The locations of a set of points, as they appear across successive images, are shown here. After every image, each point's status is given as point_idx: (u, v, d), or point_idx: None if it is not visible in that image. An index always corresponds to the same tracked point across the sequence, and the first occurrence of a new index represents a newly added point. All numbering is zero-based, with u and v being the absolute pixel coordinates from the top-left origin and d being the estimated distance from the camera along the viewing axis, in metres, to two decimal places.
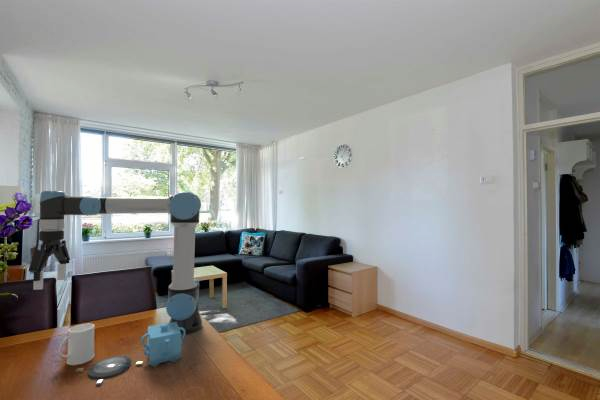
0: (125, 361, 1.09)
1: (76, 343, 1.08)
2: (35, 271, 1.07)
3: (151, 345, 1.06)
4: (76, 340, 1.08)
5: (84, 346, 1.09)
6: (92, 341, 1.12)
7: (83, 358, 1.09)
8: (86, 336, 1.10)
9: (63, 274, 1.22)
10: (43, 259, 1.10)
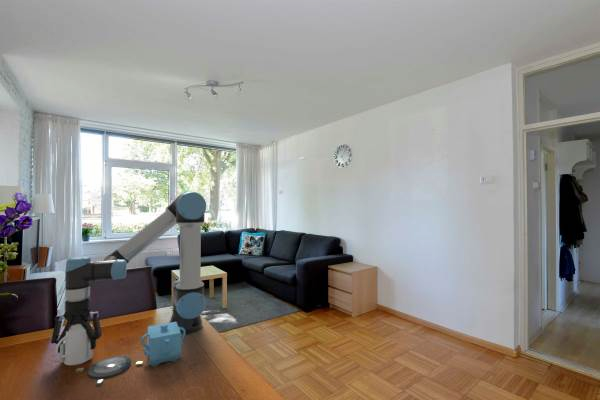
0: (125, 361, 1.09)
1: (73, 343, 1.08)
2: None
3: (151, 345, 1.06)
4: (73, 340, 1.08)
5: (81, 346, 1.09)
6: None
7: (80, 358, 1.09)
8: (83, 336, 1.10)
9: None
10: None
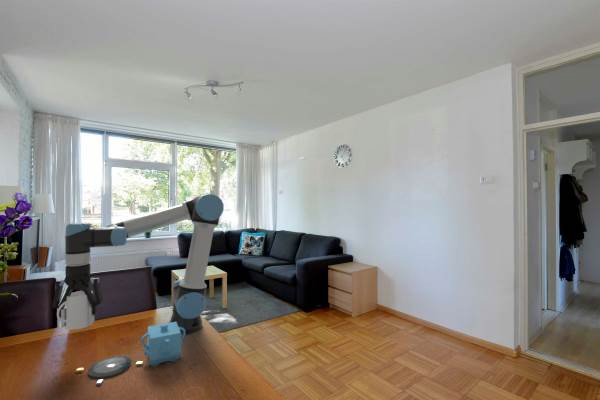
0: (125, 361, 1.09)
1: (74, 308, 1.08)
2: None
3: (151, 345, 1.06)
4: (74, 305, 1.08)
5: (83, 311, 1.09)
6: None
7: (82, 323, 1.09)
8: (84, 301, 1.10)
9: None
10: None
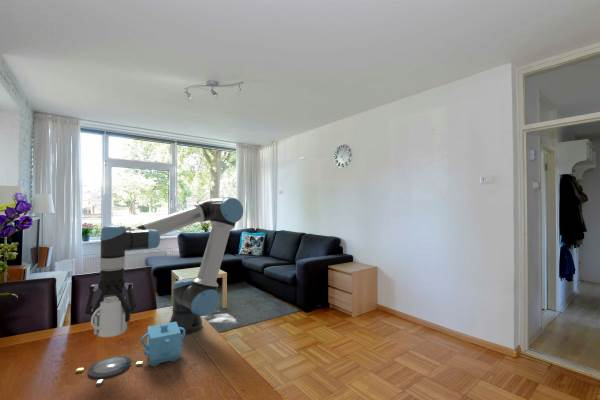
0: (125, 361, 1.09)
1: (108, 314, 1.04)
2: None
3: (151, 345, 1.06)
4: (108, 311, 1.04)
5: (116, 318, 1.05)
6: None
7: (115, 330, 1.05)
8: (118, 308, 1.06)
9: None
10: None
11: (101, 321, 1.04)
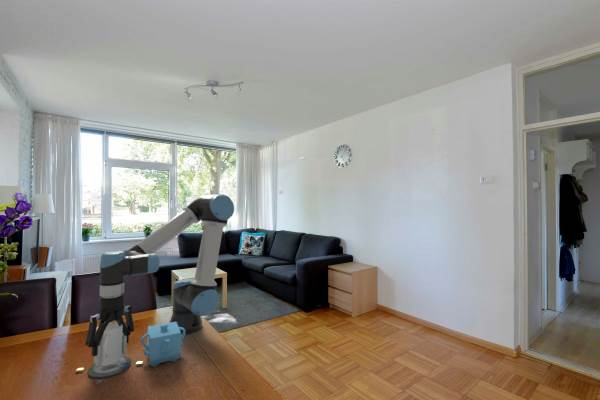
0: (125, 361, 1.09)
1: (115, 340, 1.05)
2: (90, 346, 1.00)
3: (151, 345, 1.06)
4: (115, 337, 1.05)
5: (121, 342, 1.07)
6: None
7: (120, 354, 1.07)
8: (121, 331, 1.08)
9: (123, 347, 1.09)
10: (99, 331, 1.02)
11: (107, 349, 1.03)
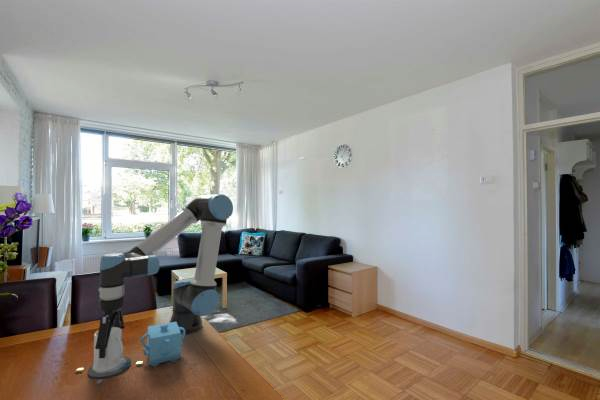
0: (125, 361, 1.09)
1: None
2: None
3: (151, 345, 1.06)
4: (120, 339, 1.07)
5: None
6: None
7: None
8: None
9: None
10: None
11: (115, 352, 1.05)
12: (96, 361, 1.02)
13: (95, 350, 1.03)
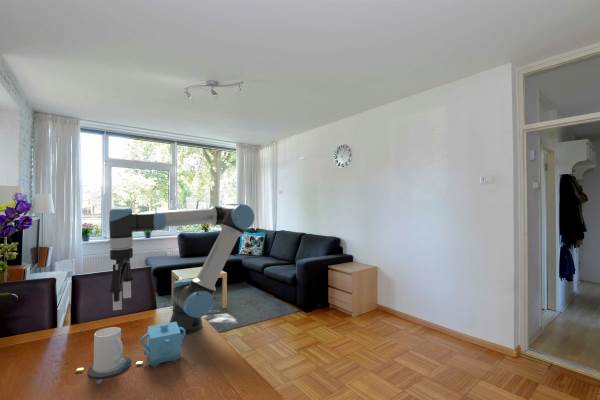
0: (125, 361, 1.09)
1: None
2: (116, 292, 1.05)
3: (151, 345, 1.06)
4: (120, 339, 1.07)
5: None
6: None
7: None
8: None
9: (129, 292, 1.20)
10: (120, 279, 1.08)
11: (115, 352, 1.05)
12: (96, 361, 1.02)
13: (95, 350, 1.03)
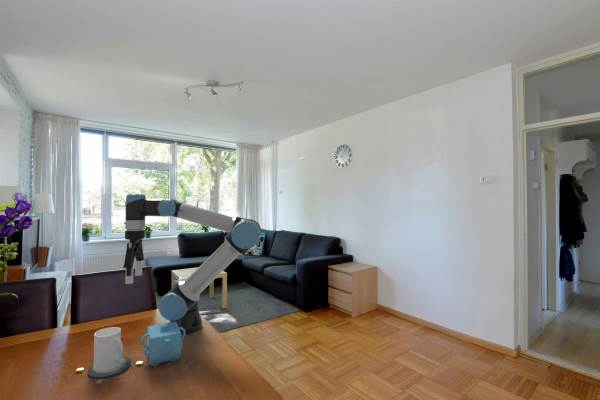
0: (125, 361, 1.09)
1: None
2: (129, 267, 1.18)
3: (151, 345, 1.06)
4: (120, 339, 1.07)
5: None
6: None
7: None
8: None
9: (140, 270, 1.33)
10: None
11: (115, 352, 1.05)
12: (96, 361, 1.02)
13: (95, 350, 1.03)
